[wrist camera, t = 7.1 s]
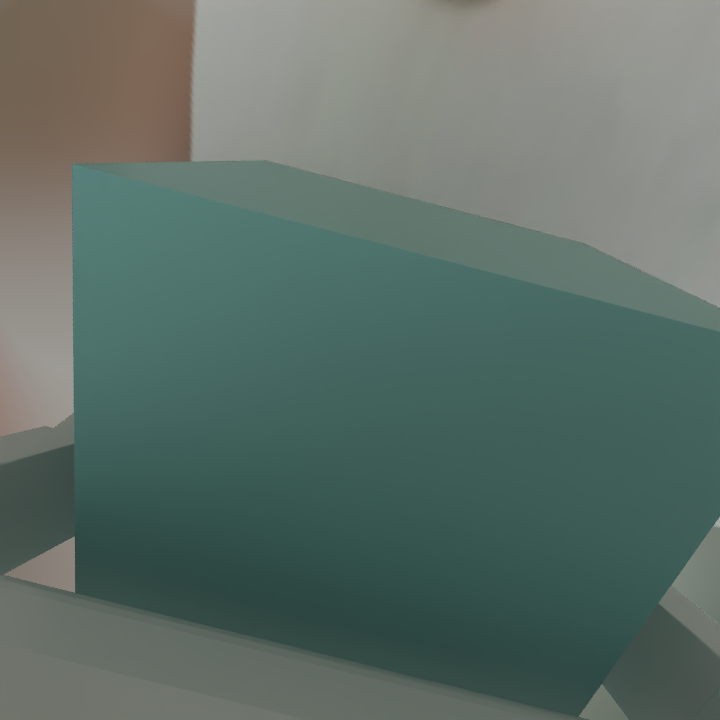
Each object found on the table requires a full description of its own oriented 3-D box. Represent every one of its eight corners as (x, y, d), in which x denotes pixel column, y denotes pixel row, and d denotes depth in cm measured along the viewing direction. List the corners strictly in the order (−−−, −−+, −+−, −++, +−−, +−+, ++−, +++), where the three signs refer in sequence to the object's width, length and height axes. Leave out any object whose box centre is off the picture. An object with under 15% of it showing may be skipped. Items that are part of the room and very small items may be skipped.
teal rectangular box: (265, 160, 10) (71, 163, 4) (585, 243, 10) (830, 360, 4) (211, 530, 14) (77, 790, 8) (437, 586, 14) (461, 883, 8)
